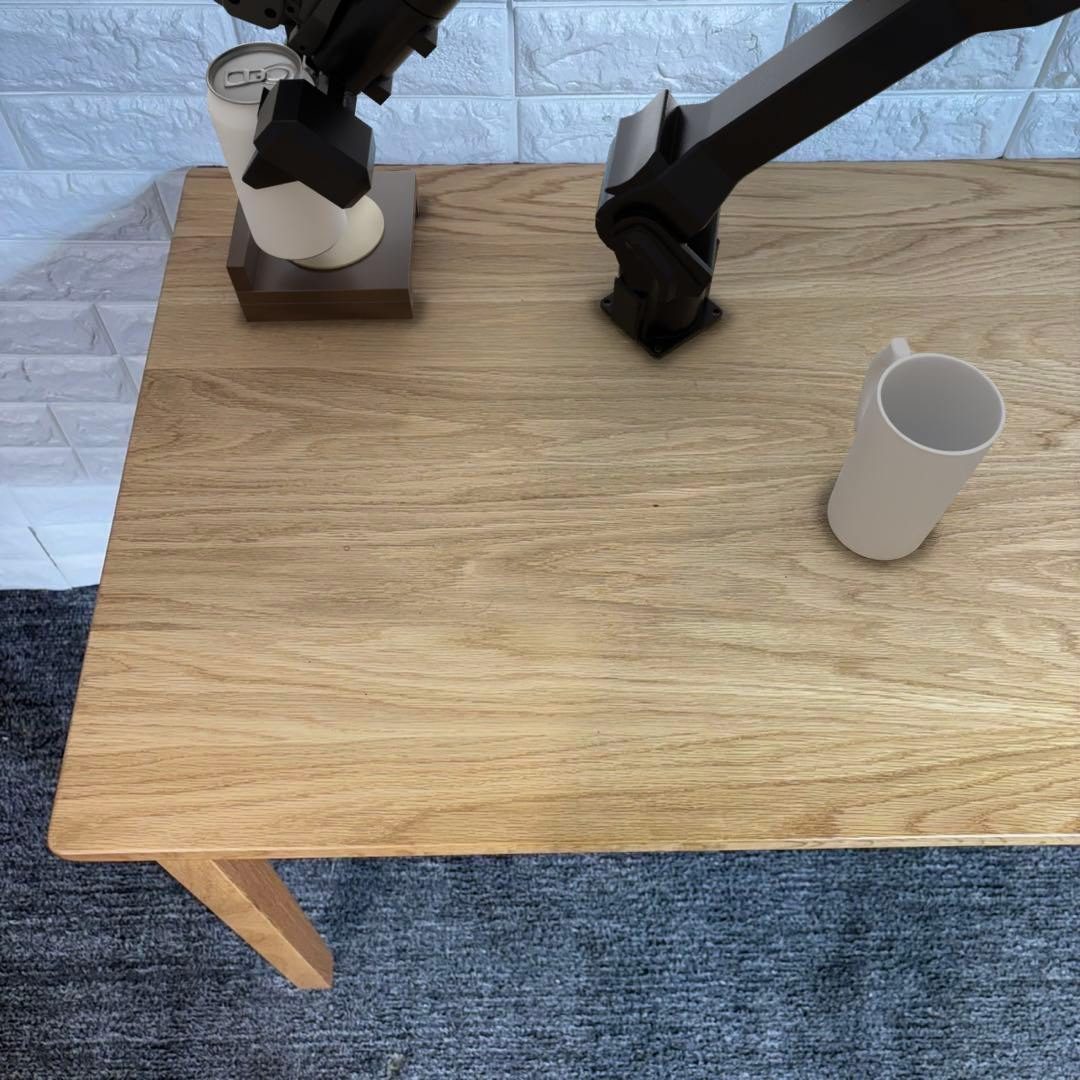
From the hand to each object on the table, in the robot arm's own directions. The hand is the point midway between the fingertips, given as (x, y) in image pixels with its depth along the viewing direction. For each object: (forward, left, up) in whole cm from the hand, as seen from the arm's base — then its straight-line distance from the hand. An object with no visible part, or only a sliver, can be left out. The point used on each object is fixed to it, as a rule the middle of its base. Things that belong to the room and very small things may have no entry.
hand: (256, 148), depth 63 cm
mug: (-19, +38, -13) cm, 45 cm away
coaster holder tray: (-4, -1, -12) cm, 13 cm away
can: (-1, +1, -7) cm, 7 cm away
